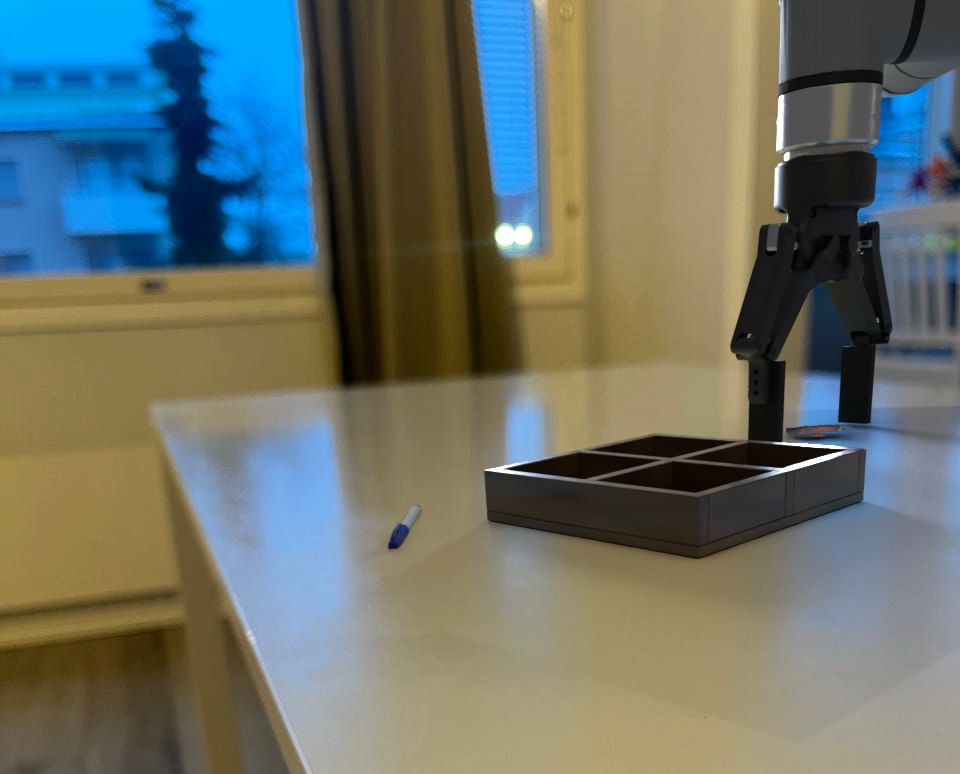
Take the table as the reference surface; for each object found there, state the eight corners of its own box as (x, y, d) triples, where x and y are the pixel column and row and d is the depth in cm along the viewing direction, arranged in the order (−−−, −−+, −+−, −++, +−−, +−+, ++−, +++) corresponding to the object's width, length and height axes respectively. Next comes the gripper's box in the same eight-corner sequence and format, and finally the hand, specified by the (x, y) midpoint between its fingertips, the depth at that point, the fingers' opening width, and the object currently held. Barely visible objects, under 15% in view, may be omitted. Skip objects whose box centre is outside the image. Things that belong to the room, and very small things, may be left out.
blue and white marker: (402, 552, 56) (400, 535, 56) (387, 553, 56) (385, 536, 56) (422, 512, 66) (420, 497, 65) (409, 513, 66) (407, 498, 66)
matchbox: (780, 431, 86) (781, 425, 86) (842, 427, 85) (842, 422, 85) (791, 439, 81) (791, 433, 81) (856, 435, 81) (856, 429, 81)
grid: (653, 476, 71) (653, 433, 70) (863, 500, 59) (866, 448, 58) (486, 520, 61) (483, 470, 60) (698, 558, 49) (698, 497, 48)
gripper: (863, 166, 87) (848, 413, 94) (685, 156, 71) (682, 451, 78) (949, 154, 81) (926, 416, 88) (776, 140, 66) (764, 458, 73)
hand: (811, 434), depth 83 cm, fingers open, 13 cm apart
